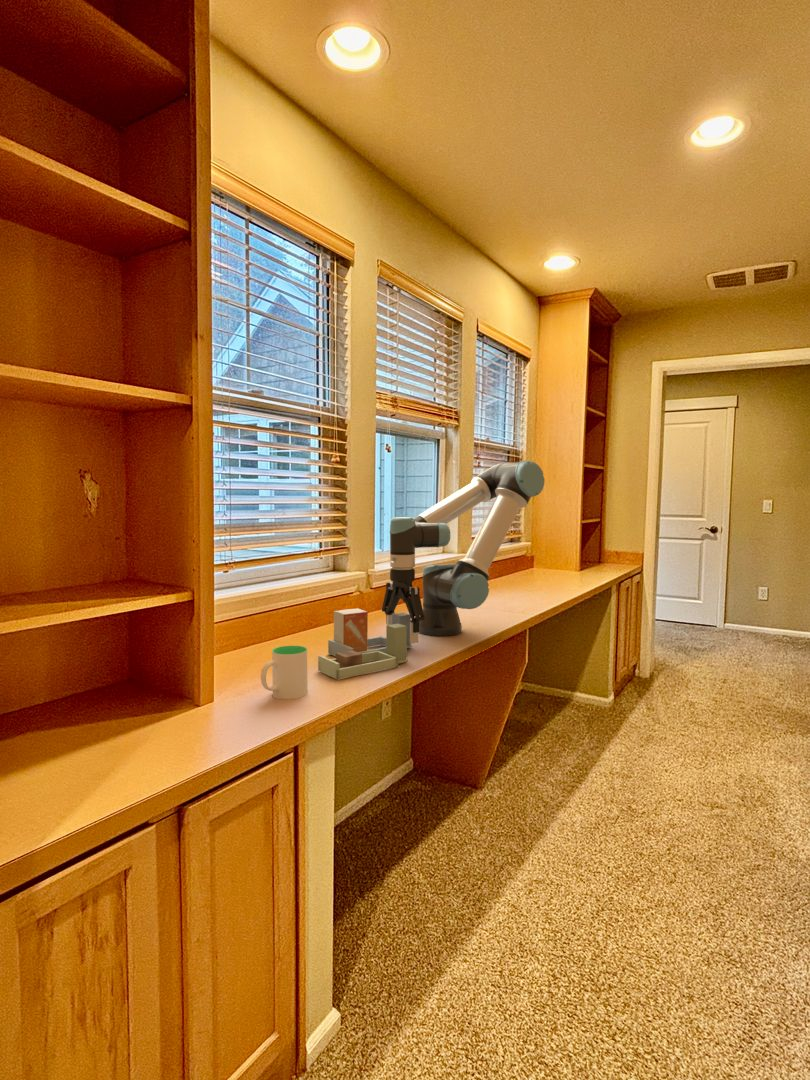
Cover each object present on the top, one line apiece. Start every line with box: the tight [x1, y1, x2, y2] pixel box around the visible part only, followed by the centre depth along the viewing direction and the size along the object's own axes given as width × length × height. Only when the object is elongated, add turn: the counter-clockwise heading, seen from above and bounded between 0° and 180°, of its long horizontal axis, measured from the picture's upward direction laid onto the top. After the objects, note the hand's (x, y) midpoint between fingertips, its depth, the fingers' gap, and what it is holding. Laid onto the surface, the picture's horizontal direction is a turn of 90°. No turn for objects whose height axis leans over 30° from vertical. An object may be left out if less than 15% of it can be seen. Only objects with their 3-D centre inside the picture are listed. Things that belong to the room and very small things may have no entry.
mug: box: [260, 645, 309, 700], centre depth 138 cm, size 12×8×10 cm
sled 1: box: [327, 612, 413, 657], centre depth 176 cm, size 24×13×10 cm, turn 127°
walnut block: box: [335, 650, 363, 668], centre depth 157 cm, size 5×5×5 cm
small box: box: [333, 607, 369, 652], centre depth 174 cm, size 8×6×13 cm
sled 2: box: [317, 624, 409, 680], centre depth 160 cm, size 24×10×10 cm, turn 127°
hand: (402, 639), depth 183 cm, fingers open, 11 cm apart
